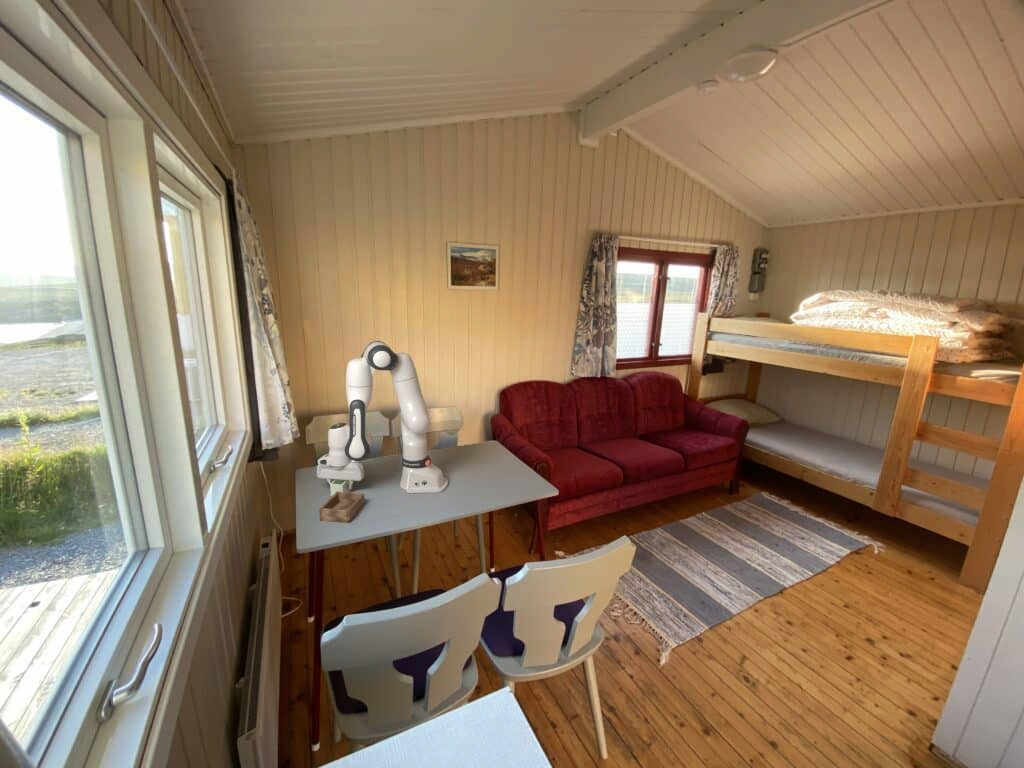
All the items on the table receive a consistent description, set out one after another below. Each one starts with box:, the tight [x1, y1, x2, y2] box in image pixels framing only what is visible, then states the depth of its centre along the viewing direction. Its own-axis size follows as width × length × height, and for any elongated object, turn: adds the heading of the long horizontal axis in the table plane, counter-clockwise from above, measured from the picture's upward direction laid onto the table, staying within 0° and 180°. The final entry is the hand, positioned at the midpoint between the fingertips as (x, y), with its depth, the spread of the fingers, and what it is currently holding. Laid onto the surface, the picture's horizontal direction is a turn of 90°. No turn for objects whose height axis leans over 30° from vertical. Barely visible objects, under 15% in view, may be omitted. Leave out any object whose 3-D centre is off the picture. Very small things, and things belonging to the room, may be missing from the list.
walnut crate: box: [318, 491, 365, 524], centre depth 176 cm, size 12×15×5 cm
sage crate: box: [329, 479, 352, 498], centre depth 192 cm, size 6×9×6 cm, turn 177°
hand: (341, 487), depth 192 cm, fingers open, 6 cm apart
